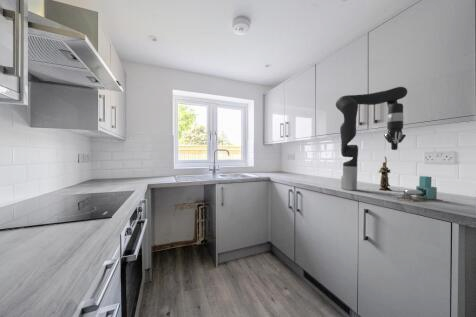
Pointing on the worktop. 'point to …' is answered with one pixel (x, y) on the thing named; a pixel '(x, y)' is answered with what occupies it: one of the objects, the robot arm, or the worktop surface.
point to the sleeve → (425, 187)
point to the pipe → (417, 193)
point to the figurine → (384, 177)
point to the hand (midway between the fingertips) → (394, 149)
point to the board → (420, 199)
